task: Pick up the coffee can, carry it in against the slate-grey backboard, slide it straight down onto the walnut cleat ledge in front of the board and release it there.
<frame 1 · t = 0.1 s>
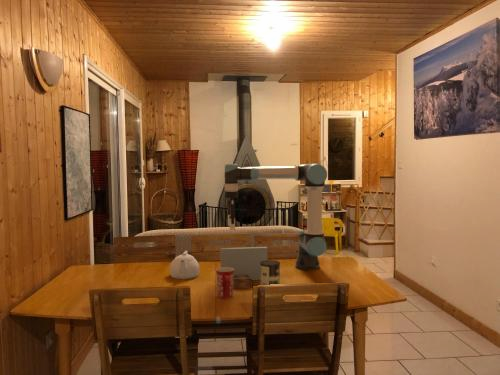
hand: (231, 227, 249), 28 cm above the table, fingers open, 13 cm apart
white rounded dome: (184, 275, 251), on the table
cleat ledge: (237, 284, 234), on the table
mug: (225, 297, 212), on the table
backboard: (244, 279, 242), on the table
coffee can: (269, 289, 225), on the table
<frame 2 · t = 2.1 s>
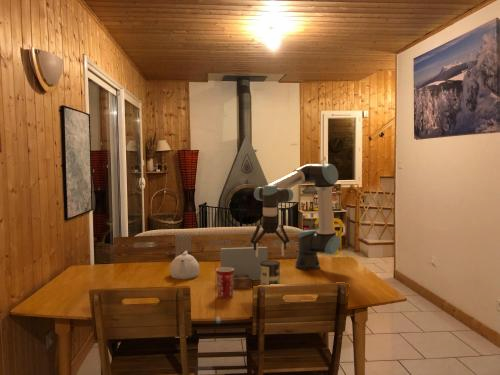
hand: (269, 256, 224), 17 cm above the table, fingers open, 13 cm apart
nothing on the table moved.
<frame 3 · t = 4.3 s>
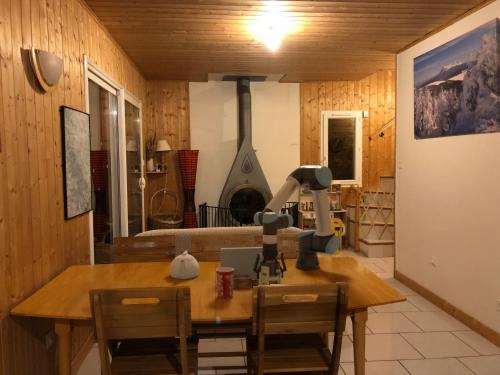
hand: (269, 284, 225), 2 cm above the table, fingers closed on coffee can, 10 cm apart
coffee can: (269, 289, 225), on the table, touching gripper
everything else where it was.
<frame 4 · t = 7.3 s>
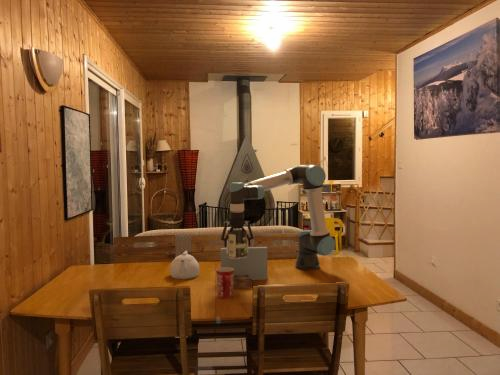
hand: (237, 252, 232), 17 cm above the table, fingers closed on coffee can, 10 cm apart
coffee can: (237, 257, 232), point 15 cm above the table, touching gripper
everything else where it was.
when the fingers open (6 cm above the table, at t = 10.7 s): coffee can stays where it is, resting on cleat ledge.
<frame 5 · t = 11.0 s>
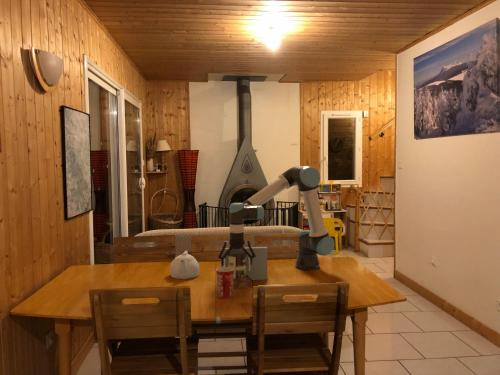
hand: (236, 270, 234), 7 cm above the table, fingers open, 13 cm apart
coffee can: (237, 278, 234), point 3 cm above the table, touching cleat ledge
everything else where it was.
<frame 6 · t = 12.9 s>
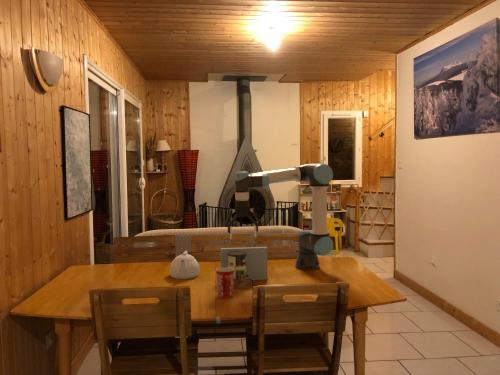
hand: (243, 238, 238), 24 cm above the table, fingers open, 13 cm apart
nothing on the table moved.
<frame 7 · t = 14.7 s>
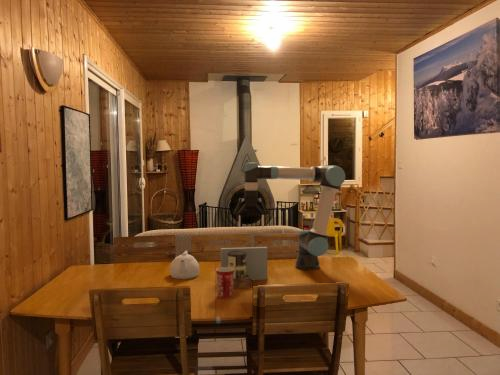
hand: (251, 226, 248), 29 cm above the table, fingers open, 13 cm apart
nothing on the table moved.
at the end: coffee can inside the target area (0.4 cm from its centre), point 2.8 cm above the table; coffee can tilted 0°; the gripper is holding nothing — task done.
